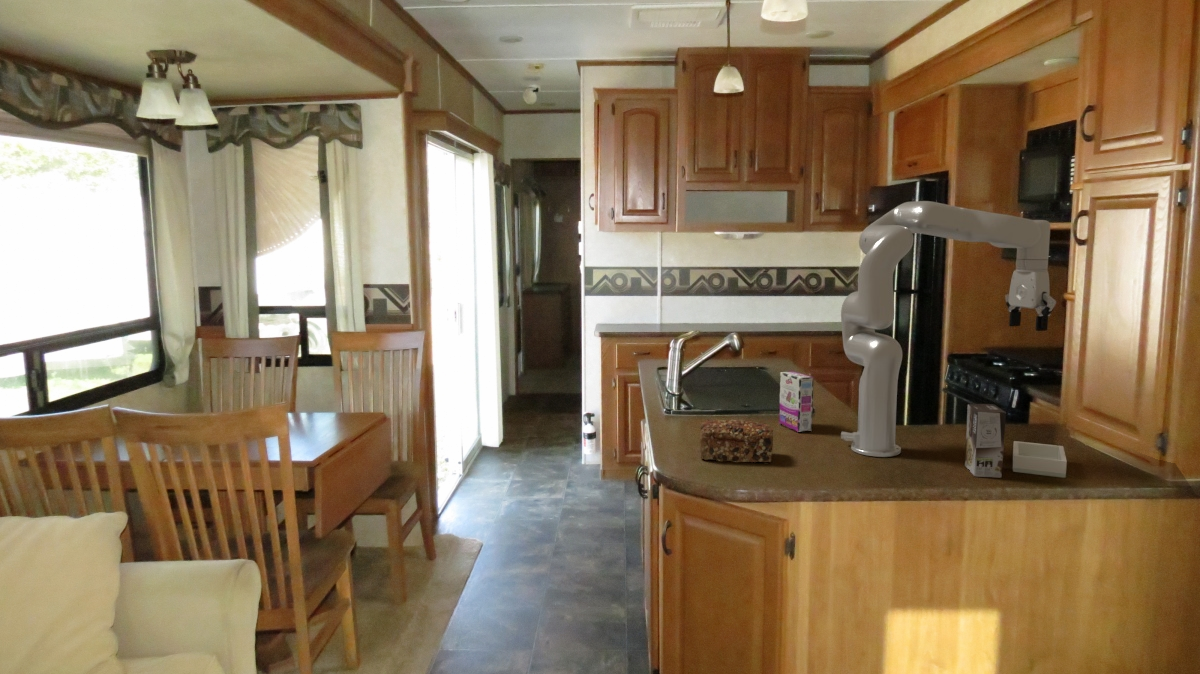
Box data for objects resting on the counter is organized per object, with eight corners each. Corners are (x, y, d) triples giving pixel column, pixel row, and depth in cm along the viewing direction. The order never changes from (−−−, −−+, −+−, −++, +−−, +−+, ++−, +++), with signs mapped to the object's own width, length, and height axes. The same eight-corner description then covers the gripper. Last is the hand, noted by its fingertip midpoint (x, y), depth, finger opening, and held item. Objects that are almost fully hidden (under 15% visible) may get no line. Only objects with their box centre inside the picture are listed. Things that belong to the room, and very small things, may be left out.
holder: (1012, 471, 186) (1013, 455, 185) (1012, 455, 198) (1013, 441, 197) (1065, 477, 180) (1066, 461, 180) (1062, 461, 193) (1063, 446, 192)
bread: (699, 462, 198) (699, 424, 196) (702, 450, 208) (702, 414, 207) (772, 465, 194) (773, 427, 192) (772, 453, 204) (772, 417, 203)
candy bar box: (813, 431, 224) (814, 377, 221) (798, 433, 222) (799, 378, 220) (792, 422, 234) (793, 370, 232) (778, 424, 233) (779, 371, 230)
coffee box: (1002, 478, 181) (1007, 412, 179) (973, 477, 182) (977, 411, 180) (991, 466, 190) (995, 403, 187) (963, 465, 191) (967, 402, 189)
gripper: (997, 264, 214) (993, 325, 216) (1044, 268, 197) (1040, 333, 200) (1020, 264, 216) (1016, 323, 218) (1069, 267, 199) (1064, 331, 201)
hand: (1027, 328), depth 209 cm, fingers open, 9 cm apart
